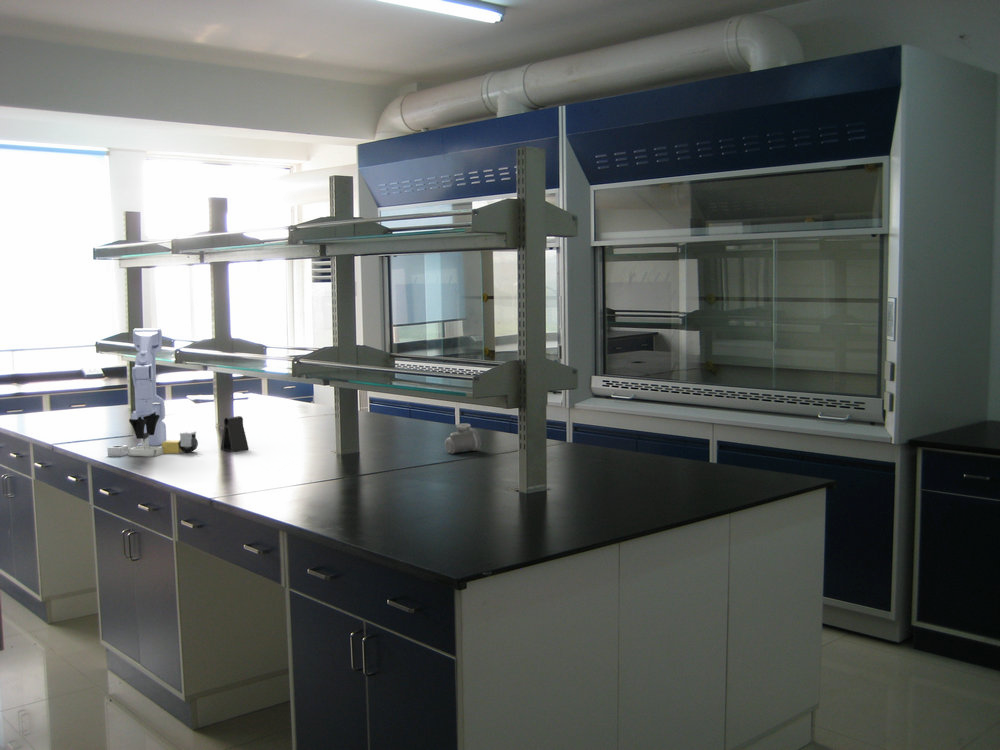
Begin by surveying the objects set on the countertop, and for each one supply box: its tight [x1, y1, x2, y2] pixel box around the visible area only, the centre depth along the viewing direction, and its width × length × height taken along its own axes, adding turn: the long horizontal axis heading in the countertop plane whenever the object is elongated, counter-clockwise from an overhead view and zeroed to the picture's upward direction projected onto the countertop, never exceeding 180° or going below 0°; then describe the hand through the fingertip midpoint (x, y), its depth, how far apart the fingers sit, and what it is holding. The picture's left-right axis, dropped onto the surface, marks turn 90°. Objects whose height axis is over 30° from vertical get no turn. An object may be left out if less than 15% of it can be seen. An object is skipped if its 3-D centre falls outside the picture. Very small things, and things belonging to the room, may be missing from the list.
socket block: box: [107, 444, 129, 457], centre depth 320 cm, size 5×5×3 cm
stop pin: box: [140, 433, 149, 449], centre depth 319 cm, size 3×3×7 cm
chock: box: [161, 439, 183, 454], centre depth 325 cm, size 4×6×4 cm, turn 85°
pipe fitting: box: [444, 422, 482, 455], centre depth 320 cm, size 12×8×10 cm
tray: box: [128, 445, 165, 457], centre depth 320 cm, size 6×10×2 cm, turn 83°
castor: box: [178, 430, 199, 454], centre depth 324 cm, size 4×6×7 cm
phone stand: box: [220, 415, 250, 453], centre depth 328 cm, size 9×6×12 cm, turn 49°
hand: (145, 436), depth 319 cm, fingers open, 7 cm apart
